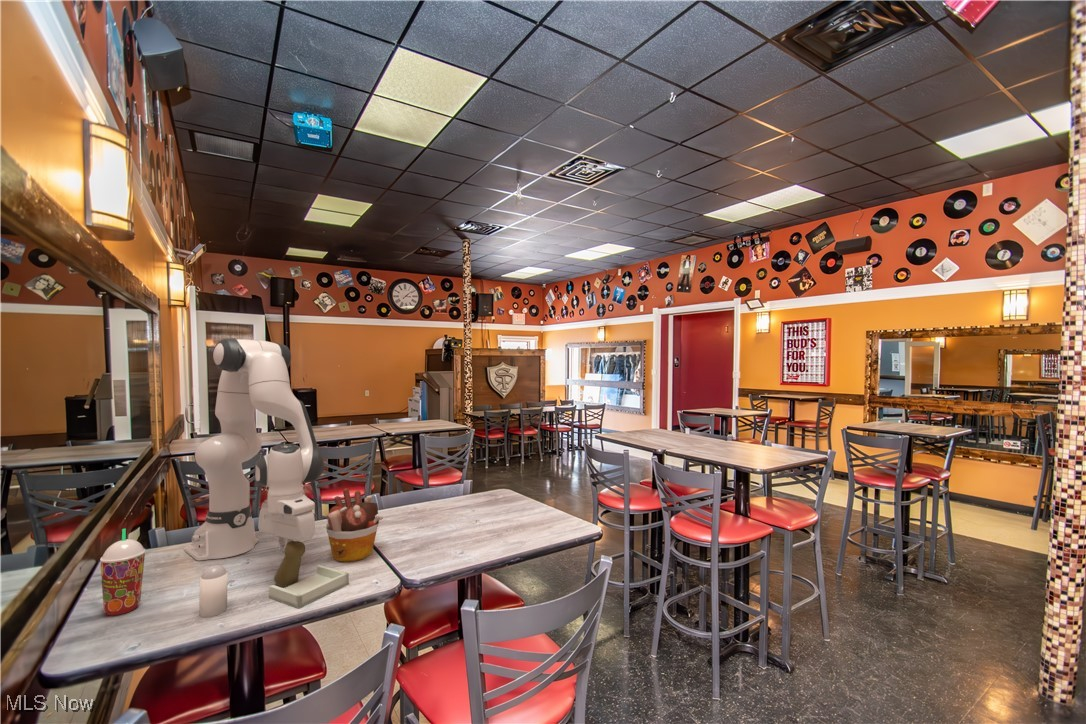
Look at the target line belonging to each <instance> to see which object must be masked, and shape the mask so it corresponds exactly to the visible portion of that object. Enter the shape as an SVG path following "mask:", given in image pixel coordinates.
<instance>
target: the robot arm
mask: <svg viewBox="0 0 1086 724" xmlns="http://www.w3.org/2000/svg"><path fill="white" fill-rule="evenodd" d="M212 354H213V355H212V356H213V357H212V359H213V363H214V365H215V366H216V367H217V369H219V370H221V373H220V376H219V381H218V385H217V395H216V399H215V400H216V401H215V409H214V414H215V417H216V418H217V419H218V422H219V423H220V430H221V431H220V433H221V434H218V435H214V436H212V437H209V438H208V439H205V440H204V441H202V443H200V444H199V445H198V446H197V448H196V450H195V452H194V460H195V462H196V464H197V465H198V466H199V468H201V469H202V470H203V472H204V473H205V476H206V479H207V483H208V489H209V490H208V491H209V492H208V493H209V494H208V496H209V502H208V503H209V504H208V505H209V507H208V508H209V509H206V513H205V514H206V516H205V521H204V523H202V524H201V525H200V526H199V527H198V528H197V529H196V530H195V531H194V533H193V535H192V536H191V542H192V543H190V544H188V545H186V546H185V547H184V548H183V549H184V552H185V553H187V554H188V555H189V556H190V557H192V558H193V559H194V560H195V561H205V560H213V559H214V560H215V559H225V558H229V557H235V556H238V555H242V554H244V553H247V552H249V551H252V549H254V548H255V545H256V544H258V543H259V538H258V537H256V531H255V521H254V519H253V518H252V517H251V516H252V506H251V504H250V481H249V480H248V478H246V476H245V474H244V470H243V466H242V465H243V463H245V462H247V461H250V460H251V459H252V458H254V457H255V456H256V455H258V453H259V452H260V451H261V449H262V439H261V437H260V436H259V434H258V432H257V425H256V419H255V416H256V415H255V413H256V412H255V411H256V410H257V411H258V412H260V413H262V414H264V415H267V416H270V417H275V418H279V419H282V420H285V421H287V422H288V423H290V424H291V425H292V426H293V428H294V430H295V433H296V437H297V439H298V440H297V441H298V444H299V446H298V445H296V444H294V443H293V444H292V443H282V444H276V445H274V446H272V447H271V448H270V450H269V453H268V454H266V455H262V456H261V457H259V459H258V460H257V461H256V462H255V463H254V482H255V483H256V484H258V485H259V486H261V487H263V488H268V490H267V494H266V495H267V496H266V497H267V499H265V500H264V501H263V502H262V504H261V508H260V510H259V515H258V524H257V525H258V526H257V528H258V530H259V532H260V533H263V534H265V535H271V536H274V537H276V538H275V539H276V542H277V544H278V547H279V548H278V551H279V552H280V553H284V554H285V547H286V546H287V544H289V543H290V542H293V541H299V542H302V543H303V542H306V541H309V540H311V539H313V537H314V536H315V532H316V531H315V528H316V525H315V520H316V518H315V513H314V511H313V510H315V508H316V504H315V502H314V501H313V500H312V499H310V498H309V497H308V496H307V495H306V494H304V488H303V484H305V483H306V484H307V483H315V481H316V480H318V479H319V478H320V477H321V475H323V473H324V471H325V463H324V462H325V461H324V457H323V455H322V452H321V450H320V448H319V446H318V443H317V440H316V436H315V433H314V430H313V427H312V423H311V419H310V417H309V413H308V411H307V408H306V406H305V404H304V402H303V401H302V400H300V399H298V398H297V397H296V396H295V395H294V393H293V391H292V389H291V384H290V383H291V382H290V376H289V370H288V369H289V367H290V365H291V362H292V353H291V351H290V348H289V347H288V346H287V345H285V344H283V343H279V342H271V341H268V340H260V339H243V338H238V339H237V338H233V337H231V338H223V339H220V340H219V341H218V342H217V343H216V344H215V347H214V349H213V353H212Z"/></svg>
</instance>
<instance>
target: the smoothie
mask: <svg viewBox="0 0 1086 724" xmlns="http://www.w3.org/2000/svg"><path fill="white" fill-rule="evenodd" d="M126 530H127V529H126V528H122V529H121V532H122V534H121V540H118V541H116V542H113V543H112V544H111V545H109V546H108V547H107V549H106V550H105V551H104V553H103V555H102V556H101V557H100V558H99V559H100V575H101V576H100V577H101V588H102V589H101V591H102V606H103V608H102V609H103V611H105V613H106V615H107V616H111V617H112V616H119V615H120V616H121V615H124V614H127V613H130V612H131V611H134V610H135V609H136V608H137V607H139V606H138V605H139V603H140V602H141V597H142V590H143V589H142V587H143V579H144V578H143V577H144V567H145V557H146V548H144V546H143V545H142V544H141V543H140V541H137V540H136V539H130V538H126Z"/></svg>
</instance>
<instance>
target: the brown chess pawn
mask: <svg viewBox="0 0 1086 724" xmlns="http://www.w3.org/2000/svg"><path fill="white" fill-rule="evenodd" d="M305 552H306V545H305V543H303V542H299V541H295V540H294V541H293V542H290V543H289V544H287V546H286V547H285V553H284V557H283V559H282V561H281V563H280V565H279V567H278V570H277V572H276V574H275V576H274V579H273V581H274V583H275V584H276V585H278V586H279V587H288V586H290V585H293V584H295V583H297V582H299V577H300V576H299V574H300V569H301V568H300V567H301V562H302V557H303V556H304V555H305Z"/></svg>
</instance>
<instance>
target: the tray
mask: <svg viewBox="0 0 1086 724" xmlns="http://www.w3.org/2000/svg"><path fill="white" fill-rule="evenodd" d="M349 574H350V573H349V572H346V571H343V570H339V569H335V568H332V567H329V566H325V565H321V564H319V565H317V566H316V574H314V575H311V576H309V577H307V578H304V579H302V580H300V581H297V582H296V583H295V584H293V585H290V586H285V587H284V588H283V587H282V586H279V585H278V586H277V585H275V584H272V585H269V587H268V598H269V599H271V600H274V601H277V602H280V603H282V604H284V605H288V606H290V607H293V608H296V609H300V608H303V607H304V606H307V605H309V604H311V603H314V602H315V601H317V600H318V599H321V598H323V597H326V596H327V595H329V594H331V593H333V592H336V591H337V590H340V589H342V588H344V587H346V586H348V585H349V583H350V582H349V580H350V579H349Z"/></svg>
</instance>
